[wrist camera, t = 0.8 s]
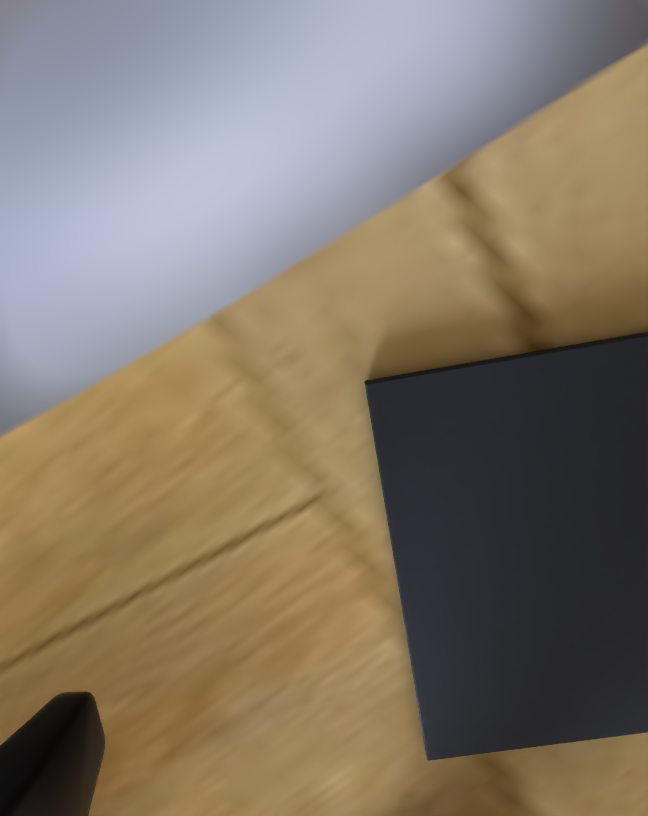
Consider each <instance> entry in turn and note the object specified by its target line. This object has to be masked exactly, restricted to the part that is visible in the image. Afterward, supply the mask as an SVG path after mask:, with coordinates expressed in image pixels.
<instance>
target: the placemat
mask: <svg viewBox="0 0 648 816" xmlns="http://www.w3.org/2000/svg"><path fill="white" fill-rule="evenodd" d="M365 386H366V392H367V398H368V404H369V411H370V417H371V423H372V429H373V435H374V441H375V447H376V453H377V459H378V465H379V471H380V477H381V483H382V489H383V495H384V501H385V507H386V513H387V519H388V525H389V532H390V538H391V544H392V550H393V556H394V562H395V568H396V574H397V580H398V586H399V592H400V598H401V604H402V610H403V616H404V622H405V628H406V634H407V640H408V647H409V653H410V659H411V665H412V671H413V677H414V683H415V689H416V695H417V701H418V707H419V713H420V719H421V725H422V731H423V737H424V743H425V749H426V755H427V759H428V760H437V759H444V758H452V757H460V756H468V755H475V754H483V753H491V752H499V751H506V750H514V749H522V748H530V747H537V746H545V745H553V744H560V743H568V742H576V741H584V740H591V739H599V738H607V737H615V736H622V735H630V734H638V733H646V732H648V332H645V333H639V334H634V335H628V336H622V337H616V338H610V339H605V340H599V341H593V342H587V343H581V344H576V345H570V346H564V347H558V348H552V349H547V350H541V351H535V352H529V353H523V354H518V355H512V356H506V357H500V358H494V359H489V360H483V361H477V362H471V363H465V364H460V365H454V366H448V367H442V368H436V369H431V370H425V371H419V372H413V373H407V374H402V375H396V376H390V377H384V378H378V379H373V380H367V381H365Z"/></svg>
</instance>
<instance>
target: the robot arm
mask: <svg viewBox="0 0 648 816" xmlns="http://www.w3.org/2000/svg"><path fill="white" fill-rule="evenodd" d="M104 749H105V735H104V731H103V727H102V723H101V720H100V716H99V712H98V709H97V705H96V701H95V698H94V696H93V695H92V694H91V693H90V692H87V691H85V692H64V693H60V694H58V695H57V696H55V697H54V698H53V699H52V700H50V701H49V702H48V703H47V704H46V705H45V706H44V707H43V708H42V709H40V710H39V711H38V712H37V713H36V714H35V715H34V716H33V717H32V718H30V719H29V720H28V721H27V722H26V723H25V724H24V725H23V726H22V727H20V728H19V729H18V730H17V731H16V732H15V733H14V734H13V735H11V736H10V737H9V738H8V739H7V740H6V741H5V742H4V743H3V744H1V745H0V816H88V814H89V810H90V806H91V802H92V798H93V794H94V790H95V786H96V783H97V779H98V775H99V771H100V767H101V763H102V759H103V755H104Z"/></svg>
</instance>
